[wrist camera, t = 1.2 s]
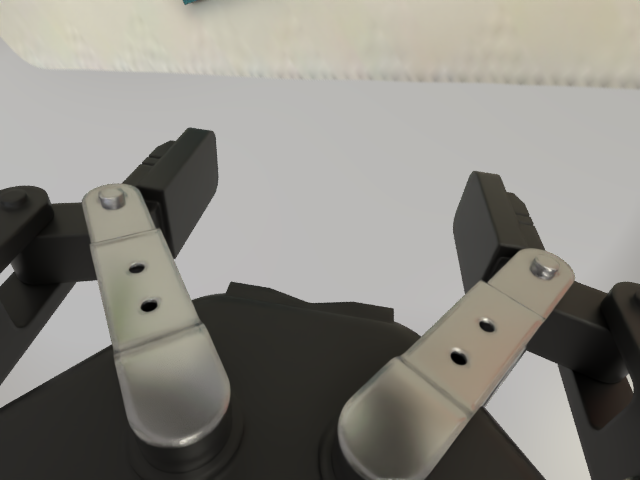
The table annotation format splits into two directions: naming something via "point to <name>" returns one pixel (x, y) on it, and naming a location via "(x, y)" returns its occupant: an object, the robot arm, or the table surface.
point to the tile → (188, 1)
